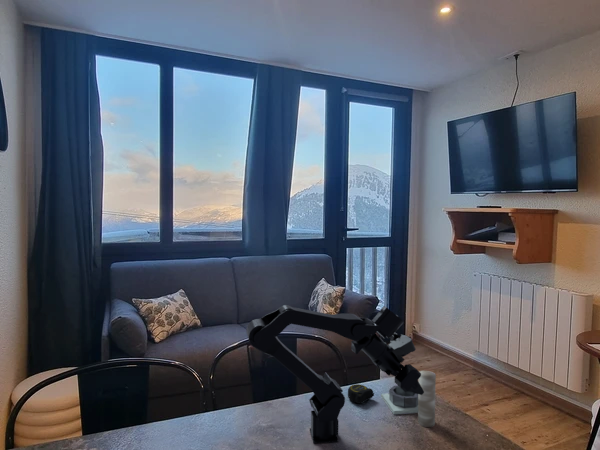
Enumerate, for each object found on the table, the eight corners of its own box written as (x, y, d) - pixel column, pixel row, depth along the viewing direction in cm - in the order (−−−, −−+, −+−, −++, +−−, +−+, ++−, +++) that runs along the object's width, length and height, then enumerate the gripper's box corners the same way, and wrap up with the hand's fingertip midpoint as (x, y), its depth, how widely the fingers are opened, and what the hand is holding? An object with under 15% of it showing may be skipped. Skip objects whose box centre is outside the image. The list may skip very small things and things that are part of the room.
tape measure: (359, 407, 123) (360, 395, 123) (343, 399, 128) (343, 387, 128) (374, 400, 128) (374, 388, 128) (357, 392, 133) (357, 381, 133)
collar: (396, 408, 120) (396, 398, 120) (386, 395, 129) (386, 386, 129) (423, 406, 121) (423, 397, 121) (412, 393, 130) (412, 384, 130)
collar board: (393, 414, 119) (393, 411, 119) (381, 396, 130) (381, 393, 130) (429, 412, 120) (429, 408, 120) (414, 394, 131) (414, 391, 131)
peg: (422, 427, 112) (423, 377, 111) (415, 419, 116) (416, 371, 116) (437, 426, 113) (438, 376, 112) (430, 418, 117) (431, 370, 116)
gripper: (414, 338, 102) (452, 377, 105) (382, 318, 120) (415, 352, 123) (385, 372, 100) (424, 411, 104) (356, 347, 118) (391, 380, 122)
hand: (413, 385), depth 113 cm, fingers open, 9 cm apart
